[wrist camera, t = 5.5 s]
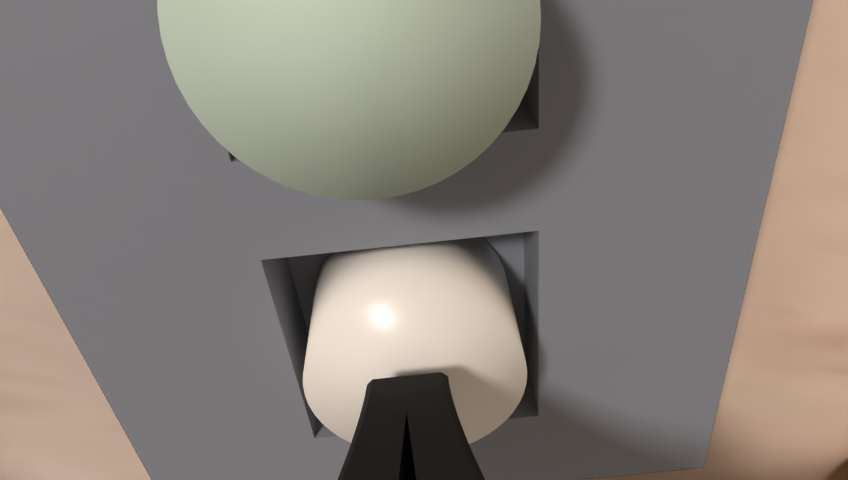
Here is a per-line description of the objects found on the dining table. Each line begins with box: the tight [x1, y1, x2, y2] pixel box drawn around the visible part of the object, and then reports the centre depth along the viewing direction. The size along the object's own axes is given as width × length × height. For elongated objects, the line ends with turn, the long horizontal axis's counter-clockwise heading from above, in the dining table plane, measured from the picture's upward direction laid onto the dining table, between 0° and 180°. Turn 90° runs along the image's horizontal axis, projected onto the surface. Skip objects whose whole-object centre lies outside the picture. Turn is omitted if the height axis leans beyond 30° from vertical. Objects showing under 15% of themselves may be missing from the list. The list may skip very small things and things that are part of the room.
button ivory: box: [303, 237, 527, 444], centre depth 14 cm, size 4×4×3 cm
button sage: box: [157, 0, 541, 200], centre depth 8 cm, size 4×4×3 cm
